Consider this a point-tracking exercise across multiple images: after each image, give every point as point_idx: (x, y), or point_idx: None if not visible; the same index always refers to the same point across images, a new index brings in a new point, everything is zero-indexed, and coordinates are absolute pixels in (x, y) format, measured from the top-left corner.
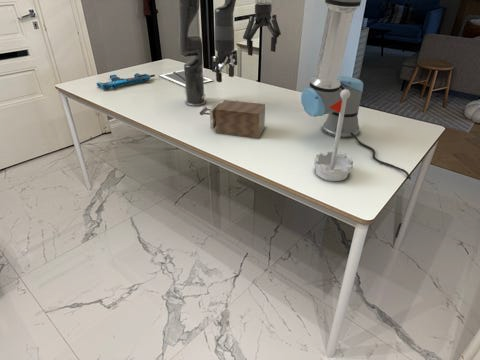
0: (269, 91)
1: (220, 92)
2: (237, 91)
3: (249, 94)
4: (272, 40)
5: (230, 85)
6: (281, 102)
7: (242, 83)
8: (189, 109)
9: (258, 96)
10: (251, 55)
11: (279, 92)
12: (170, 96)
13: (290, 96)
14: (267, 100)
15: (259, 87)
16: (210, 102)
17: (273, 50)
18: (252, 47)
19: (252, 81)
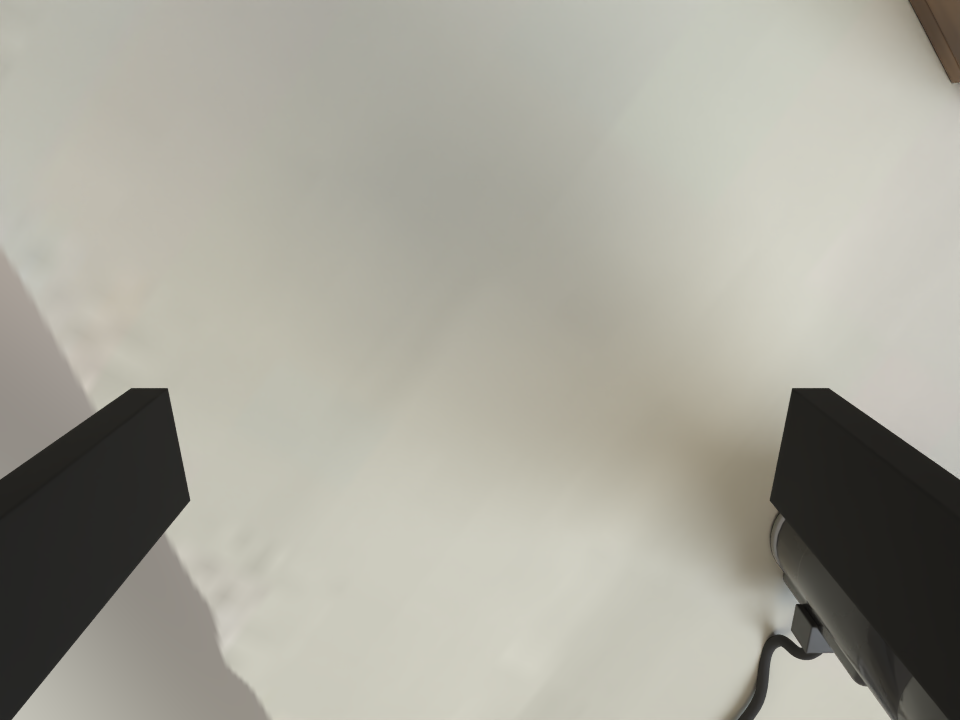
0: (239, 451)
1: (569, 608)
2: (455, 568)
3: (415, 477)
4: (6, 647)
5: (427, 680)
6: (290, 195)
7: (329, 673)
8: (946, 456)
9: (379, 409)
10: (823, 389)
11: (177, 393)
12: (873, 697)
13: (140, 268)
14: (368, 299)
15: (262, 555)
16: (748, 490)
17: (158, 426)
18: (921, 481)
19: (241, 673)
